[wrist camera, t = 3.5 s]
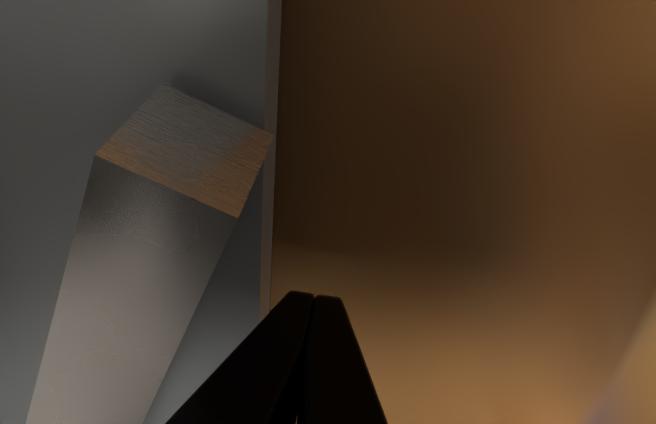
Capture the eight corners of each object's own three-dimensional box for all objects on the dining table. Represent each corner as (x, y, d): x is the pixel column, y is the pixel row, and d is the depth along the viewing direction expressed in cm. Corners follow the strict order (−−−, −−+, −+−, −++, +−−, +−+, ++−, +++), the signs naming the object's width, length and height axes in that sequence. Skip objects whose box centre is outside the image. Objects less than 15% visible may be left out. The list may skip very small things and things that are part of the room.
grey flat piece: (259, 545, 17) (233, 670, 14) (-39, 495, 17) (-114, 608, 15) (283, -48, 8) (225, 12, 5) (-344, -121, 8) (-669, -98, 6)
